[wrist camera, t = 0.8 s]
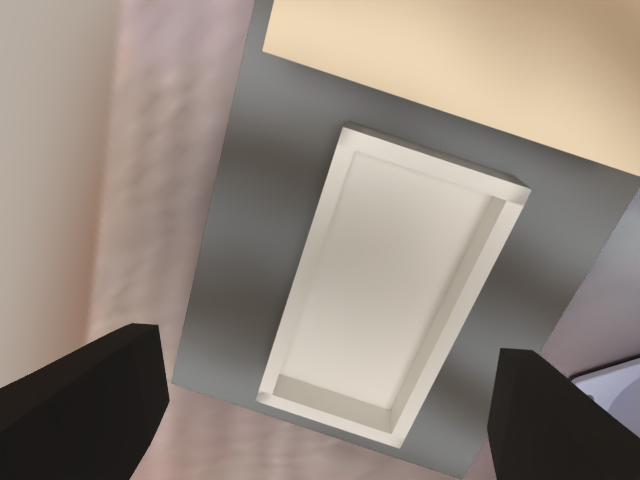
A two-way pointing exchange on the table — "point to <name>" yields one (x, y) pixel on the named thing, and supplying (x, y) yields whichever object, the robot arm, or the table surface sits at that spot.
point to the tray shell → (386, 282)
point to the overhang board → (434, 132)
